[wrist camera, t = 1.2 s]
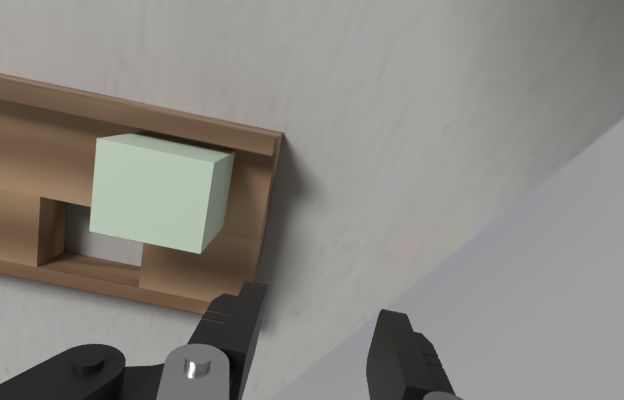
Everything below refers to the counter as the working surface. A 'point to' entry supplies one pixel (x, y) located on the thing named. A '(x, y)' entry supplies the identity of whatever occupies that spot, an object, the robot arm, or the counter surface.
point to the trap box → (79, 185)
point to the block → (160, 190)
